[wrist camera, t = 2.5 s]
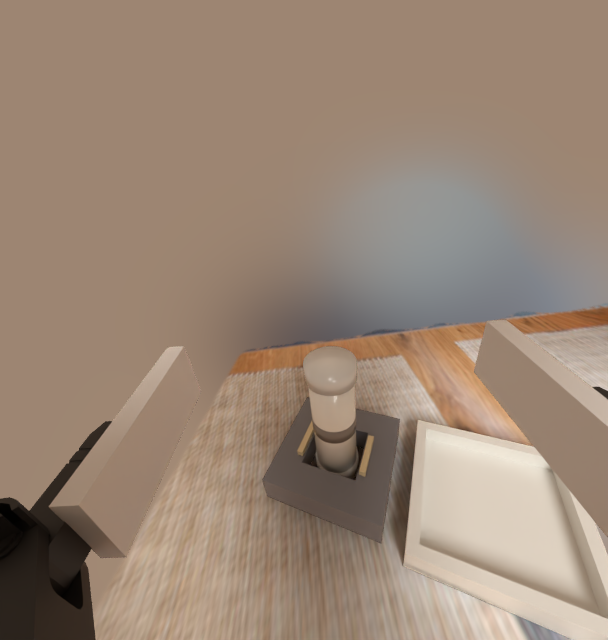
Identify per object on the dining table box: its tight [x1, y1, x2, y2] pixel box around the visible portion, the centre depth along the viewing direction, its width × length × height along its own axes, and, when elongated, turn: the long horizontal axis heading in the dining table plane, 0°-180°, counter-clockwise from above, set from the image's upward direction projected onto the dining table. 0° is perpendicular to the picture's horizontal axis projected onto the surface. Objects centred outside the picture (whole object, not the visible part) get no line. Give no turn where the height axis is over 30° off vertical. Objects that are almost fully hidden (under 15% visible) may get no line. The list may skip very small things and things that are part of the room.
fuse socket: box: [263, 397, 400, 543], centre depth 31 cm, size 12×12×4 cm
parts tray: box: [403, 420, 608, 640], centre depth 26 cm, size 14×14×2 cm
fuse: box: [303, 346, 359, 479], centre depth 29 cm, size 5×5×15 cm
